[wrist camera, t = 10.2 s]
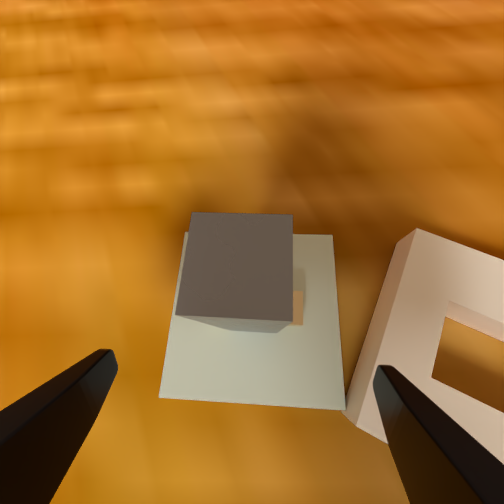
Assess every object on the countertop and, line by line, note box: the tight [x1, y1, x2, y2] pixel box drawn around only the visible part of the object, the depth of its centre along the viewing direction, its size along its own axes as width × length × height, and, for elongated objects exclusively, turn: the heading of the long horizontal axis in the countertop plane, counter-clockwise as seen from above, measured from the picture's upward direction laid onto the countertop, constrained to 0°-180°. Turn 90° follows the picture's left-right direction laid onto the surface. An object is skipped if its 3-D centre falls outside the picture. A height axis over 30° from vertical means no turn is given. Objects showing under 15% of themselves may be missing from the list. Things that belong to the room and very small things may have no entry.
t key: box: [175, 212, 303, 333], centre depth 11 cm, size 3×6×10 cm, turn 87°
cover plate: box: [341, 228, 504, 464], centre depth 13 cm, size 12×13×2 cm
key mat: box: [159, 232, 346, 411], centre depth 16 cm, size 11×11×1 cm
